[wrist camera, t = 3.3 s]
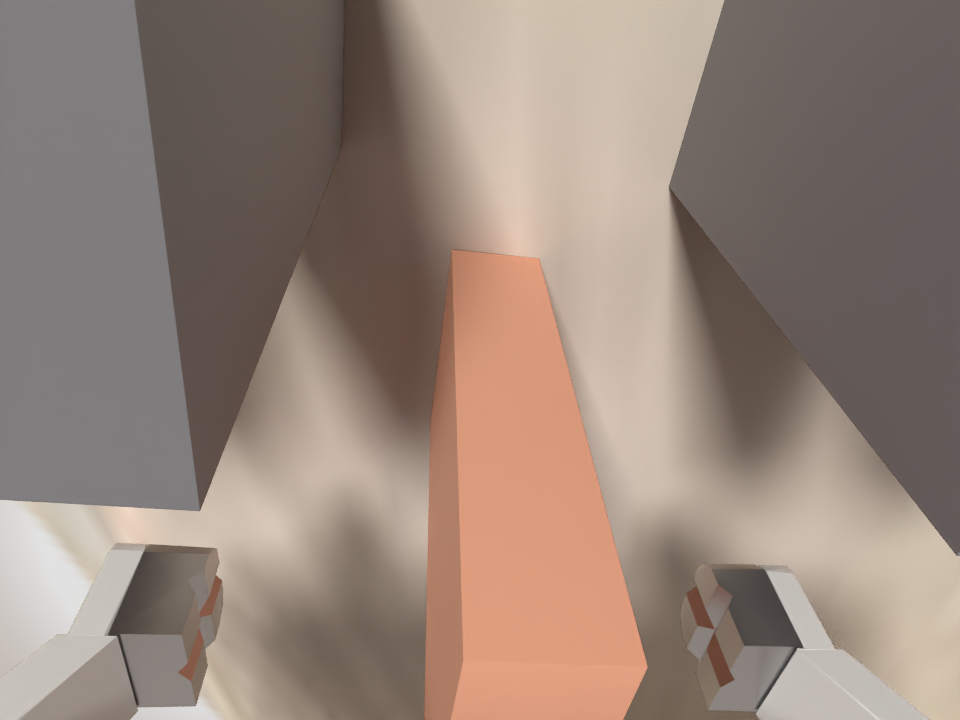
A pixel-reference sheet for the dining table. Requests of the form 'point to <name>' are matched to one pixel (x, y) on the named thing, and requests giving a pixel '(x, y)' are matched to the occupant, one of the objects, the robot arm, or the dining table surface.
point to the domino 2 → (517, 518)
